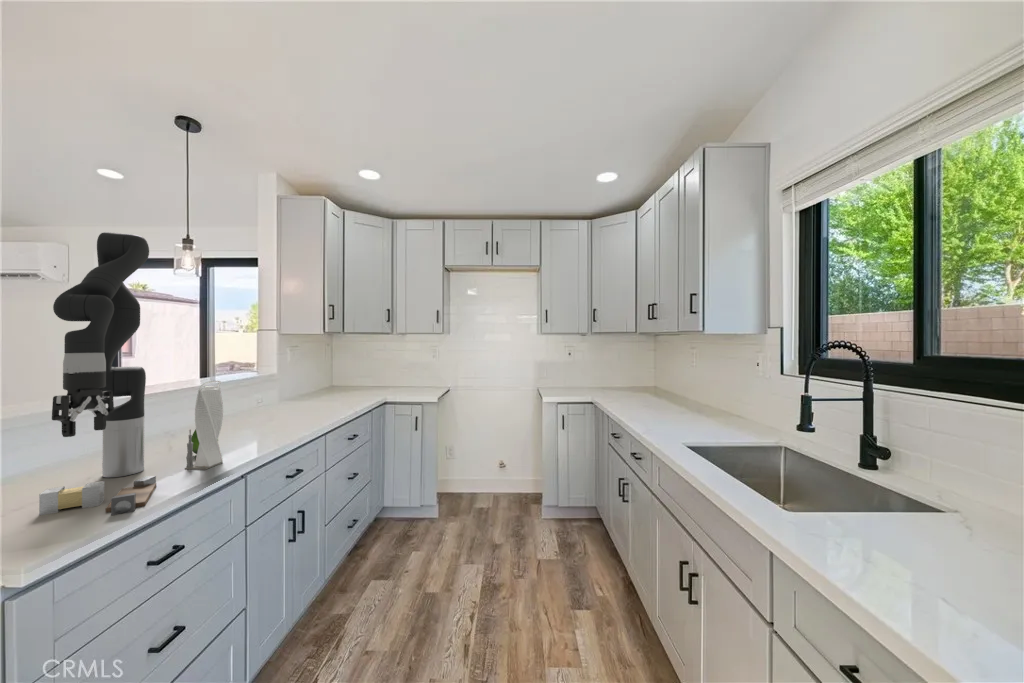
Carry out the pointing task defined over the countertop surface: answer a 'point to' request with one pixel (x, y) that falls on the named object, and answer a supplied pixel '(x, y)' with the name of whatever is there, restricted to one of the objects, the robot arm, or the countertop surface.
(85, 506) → the gray and yellow block
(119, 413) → the robot arm
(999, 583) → the countertop surface
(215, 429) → the skyscraper
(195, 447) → the avocado
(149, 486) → the coupling stand
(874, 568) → the countertop surface
